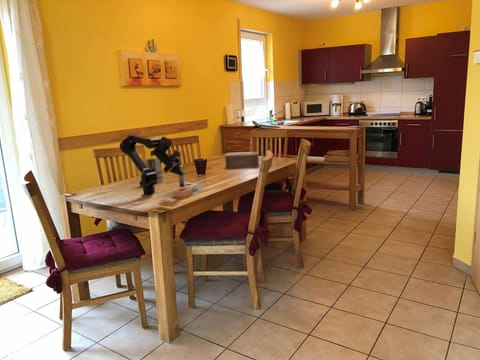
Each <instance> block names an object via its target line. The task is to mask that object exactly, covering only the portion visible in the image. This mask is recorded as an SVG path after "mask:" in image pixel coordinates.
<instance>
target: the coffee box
mask: <svg viewBox="0 0 480 360" xmlns="http://www.w3.org/2000/svg"><path fill="white" fill-rule="evenodd" d="M144 163H145V165H146V166H147V168H148V169H151V168H152V169H153V170H154V172H155V173H156V175H157V183H156V184H159V183H163V182H164V177H163V170H162V169H163V168H162V163H161V162H160V160H159V159H158V158H157V157H156V158H155V157H153V158H152V157H150V158H148V159H145V160H144Z"/></svg>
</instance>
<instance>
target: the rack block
mask: <svg viewBox="0 0 480 360" xmlns="http://www.w3.org/2000/svg"><path fill="white" fill-rule="evenodd" d="M172 193H173V197H182V198H185V197H187V196H190V195H192V194H193V192H192V188H179V187H178V188H176V189H173V190H172Z"/></svg>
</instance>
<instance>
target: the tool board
mask: <svg viewBox="0 0 480 360" xmlns="http://www.w3.org/2000/svg"><path fill="white" fill-rule="evenodd" d="M205 191H207V189H205V188H204V189H203V188H202V189H200V188H198V190H195V191H193V194H192V195H190V196H187V197H185V198H182V197H173V192H172V193H169V194H166V195H163V196H162V197H163V198H173V199H181V200H186V199H188V198H191V197H194V196H195V195H198V194H201V193H203V192H205Z"/></svg>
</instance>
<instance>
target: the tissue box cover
mask: <svg viewBox="0 0 480 360" xmlns="http://www.w3.org/2000/svg"><path fill="white" fill-rule="evenodd" d="M224 157H225V158H224V159H225V161H224V162H225V168H226V167H233V168H251V167H252V168H254V167H255V168H257V167H259V165H260V162H259V161H260V160H259V158H260V157H259V151H246V152H245V151H243V152H227V153H226V154H225V155H224Z"/></svg>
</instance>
